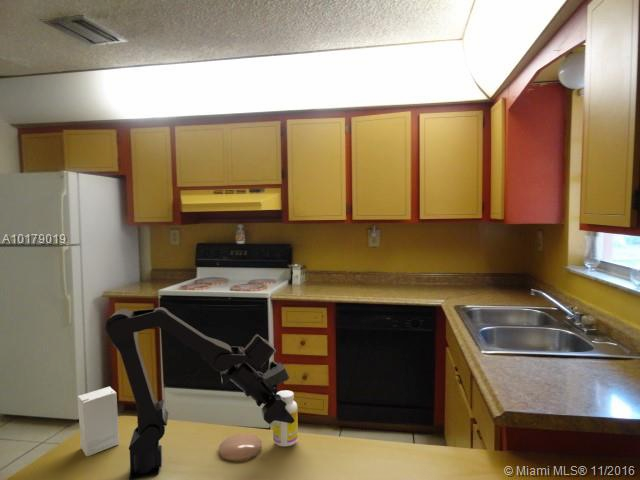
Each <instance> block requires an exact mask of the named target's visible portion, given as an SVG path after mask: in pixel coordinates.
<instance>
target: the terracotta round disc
mask: <svg viewBox="0 0 640 480" xmlns="http://www.w3.org/2000/svg"><path fill="white" fill-rule="evenodd" d="M262 445H263V442H262V439H261V438H260V437H259V436H257V435H255V434H251V433H240V434H239V433H238V434H234V435H231V436H229V437H227V438H225V439H223V441H221V442H220V444H219V447H218V454H219V456H220V455H221V456H220V457H221V458H222V457H223V458H224V459H223V458H222V459H223V460H225V459H227V460H226V461H228V460H231V461H230V462H243V461H242V460H244V461H247V459H248V460H249V459H253V458H254V456H255V457H256V456H257V455H259V453H260V452H261V451H260V450H262V449H263V447H262ZM261 448H262V449H261Z"/></svg>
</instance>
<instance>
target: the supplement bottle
mask: <svg viewBox="0 0 640 480" xmlns="http://www.w3.org/2000/svg"><path fill="white" fill-rule="evenodd" d="M277 394H279V395H280V396H281V397H282V398H284V400H285V401H286V407H285V408H286V409H287V411H288V412H289V413H290V414H291V416H292V417H293V418H294V420H295V421H294V422H293V423H286V422H281V421H273V422H272V432H273V433H272V438H273V442H274V444H275V445H277V446H279V447H290V446H293V445H294V444H296V443H297V441H298V438H299V431H298V430H299V425H298V419H299V418H298V417H299V416H298V404H297V401H295V400H294V399H295V398H294V397H295V396H294V395H295V393H294V392H293V391H292V390H287V389H285V390H280V391H278V393H277Z"/></svg>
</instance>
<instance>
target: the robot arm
mask: <svg viewBox="0 0 640 480" xmlns="http://www.w3.org/2000/svg"><path fill="white" fill-rule="evenodd" d="M157 327H158V328H160V330H163V331H164V332H166V333H167V334H169V335H170V336H172V337H174V338H175V339H177V340H178V341H180V342H181V343H183V344H185V345H186V346H187V347H189V348H191V350H194V351H196V352H197V353H198V354H199V355H200V357H201V358H202V359H203V360H204V361H205V362H206V363H207V364H208V365H209V366H210V367H211V368H212V369H213V370H215V371H216V372H219V373H220V376H221V379H220V380H221V384H222V386H225V385H226V384H227V383H228V382H229V381H231V382H232V383H234V385H236V386H237V387H238V388H239V389H241V390H242V391H243V392H244V395H245V396H246V397H247V398H249V397H250V398H251V399H252V400H254V401H255V404H256V405H257V407H259V408H260V407H261V406H262V405H263V407H262V408H261V416H262V418H263V420H264V421H265V422H266V423H267V424H268V425H272V424H273V421H281V422H286V423H293V422H294V421H295V420H294V418H293V417H292V416H291V414H290V413H289V412H288V411H287V409H286V408H285V407H286V401H285V400H284V398H282V397H281V396H280V395H279V394H277V393H278V392H279V391H278V385H280V384H282V383H283V382H288V380H289V379H290V375H289V373H288V372H287V369H286V368H285V366H284V364H283V363H281V362H276V361H274V360H272V361H270V362H268V361H269V359H271V357H273V355H274V354H275V353H276V352H277V350H276V348H274V346H273V345H272V344H271V343H270V342H269V341H268V340H267V339H265V338H263V337H262V336H260V335H259V334H257V333H256V334H255V335H254V336H252V339H251V340H250V342H249V343H247V345H246V346H245V347H243V346H232V345H231V346H230V345H229V344H228V343H226V342H224V341H222V340H219V339H216V338H214V337H213V338H212V337H210V336H207V335H205V334H204V333H202V332H200V331H199V330H198V329H196V328H194V327H193V326H191V325H189V324H188V323H186V322H185V321H184V320H182V319H181V318H179V317H177V316H176V315H174V313H171V312H170V311H169V310H168V309H167V308H165V307H162V306H159V307H155V308H149V309H148V308H147V309H137V310H130V309H126V308H123V309H119V310H116V311H115V312H114V313H113V314H111V316H110V317H109V318H108V320H107V321H106V322H105V325H104V328H105V332H106V334H107V336H108V338H109V340H110V342H111V343H112V345H113V346H114V348H115V349H116V350H117V351H118V352H119V354H120V356H121V361H122V364H123V367H124V369H125V373H126V376H127V379H128V382H129V386H130V389H131V392H132V396H133V399H134V401H135V406H136V413H137V414H136V416H137V417H136V418H137V422H136V423H137V427H135V429H133V432H132V437H131V440H130V443H129V446H128V450H129V468H130V469H129V470H130V471H129V472H130V473H129V475H128V480H135V479H141V478H146V477H150V476H155V475H159V473H160V468H162V466H163V465H162V464H163V446H162V444H160V440H161V439H162V438H163V437H164V435H165V433H166V426H167V425H168V421H169V419H168V418H169V412H168V410H167V409H166V404H165V399H162V400H160V401H158V399H157V398H156V397H155V395H154V391H153V389H152V385H151V382H150V379H149V376H148V372H147V368H146V366H145V362H144V359H143V356H142V352H141V350H140V346H139V345H140V344H139V332H141V331H144V330H147V329H152V328H157ZM267 362H268V369H266V372H264V373H263V372H262V371H257V370H256V369H255V368H258V369H259V368H262V367H263V366H264V365H265V364H266V363H267Z"/></svg>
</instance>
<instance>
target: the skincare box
mask: <svg viewBox="0 0 640 480" xmlns="http://www.w3.org/2000/svg"><path fill="white" fill-rule="evenodd" d="M117 401H118V399H117V392H116V390H115V389H113V388H112V387H111V386H110V385H109V386H107V387H103V388H100V389H97V390H93V391H90V392H87V393H84V394H80V395H77V408H78V409H77V410H78V420H79V422H78V423H79V436H80V438H79V439H80V448H81V450H82V451H83V454H84V456H86V457H89V456H92V455H94V454H98V453H100V452H102V451H103V452H104V450H108V449H110V448H113V447H115V446H117V445H120V439H119V437H120V436H119V420H118V419H119V418H118V402H117Z"/></svg>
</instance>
